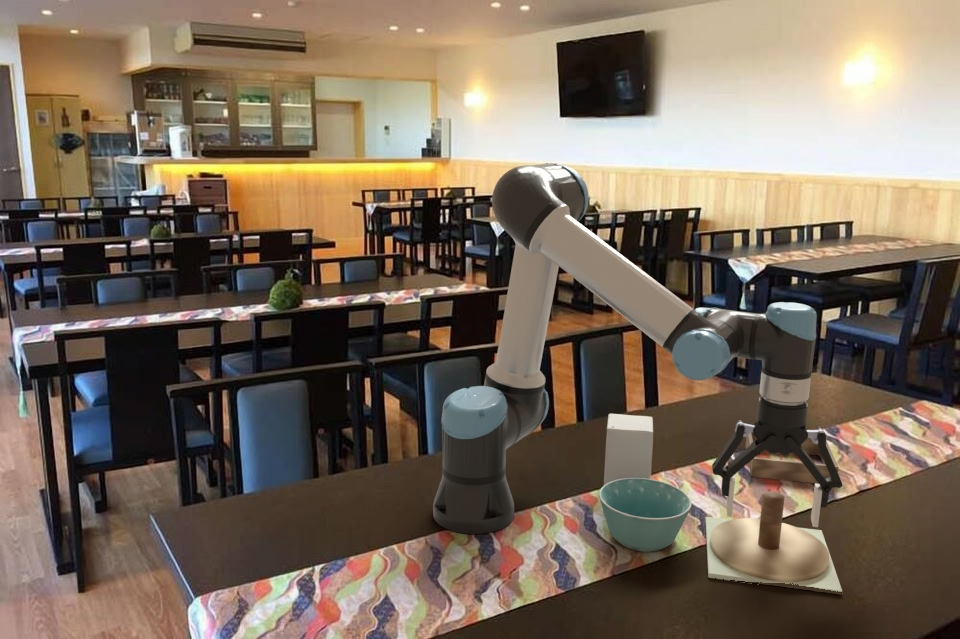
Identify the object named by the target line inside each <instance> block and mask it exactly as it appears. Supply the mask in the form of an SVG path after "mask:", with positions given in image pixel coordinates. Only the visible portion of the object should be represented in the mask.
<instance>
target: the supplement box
mask: <svg viewBox="0 0 960 639" xmlns="http://www.w3.org/2000/svg"><path fill="white" fill-rule="evenodd" d="M607 416H608V417H607V426H606V439H605V456H604V457H605V458H604V475H603V486H604V485H606V484H607V483H609V482H611V481H614V480H618V479H624V478H645V479H652V478H651V477H652V476H651V475H652V464H653V463H652V462H653V444H654V423H653V422H654V419H653V416H647V415H630V414H621V413H619V414H618V413H608V415H607Z"/></svg>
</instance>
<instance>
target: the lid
mask: <svg viewBox="0 0 960 639" xmlns="http://www.w3.org/2000/svg"><path fill="white" fill-rule="evenodd" d="M785 498H786V497H785V495H783V494H782V493H779V492H777V491H772V490H769V491H768V490H767V491H764V492H763V493H762V500H761V511H760V518H756V517H755V518H754V517H753V518H752V517H742V518H735V519H734V518H733V519H730V520H729V521H726V522H723V523H721V524H719V525H717V526H716V527H715V528H714V529H713V530H712V532H711V536H710V547H711V549H712V551H713V553H714V554H715V555H716V556H717V558H718V559H720V560H721V561H722V562H723V563H725V564H726V565H728V566H730V567H731V568H733V569H735V570H737V571H740V572H742V573H745V574H747V575H750V576H753V577H757V578H761V579H765V580H771V581H779V582H799V581H806V580H811V579H814V578H816V577H818V576H820V575H822V574H823V573H824V572H825V571H826V570H827V568H828V564H829V553H830V551H829V552H828V550H829V549H828V550H827V548H826V547H825V545H824V544H823V543H822V542H821V541H820V540H818V539H817V538H816V537H814V536H813V535H811V534H810V533H808V532H806V531H804V530H802V529H799V528H800V527H798V526H794V525H791V524H788V523H785V522H783V518H784V517H783V515H784V507H785ZM797 527H798V528H797Z"/></svg>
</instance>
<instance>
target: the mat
mask: <svg viewBox="0 0 960 639" xmlns="http://www.w3.org/2000/svg"><path fill="white" fill-rule="evenodd" d="M729 520H731V519H728V518H720V517H713V516H711V517H710V516H705V536H706V537H705V539H706V555H707V558H706V561H707V574H708V575H707V577H708V578H709V579H715V578H716V579H715V580H723V579H724V580H723V581H730V580H735V581H734V582H737V581H745V582H759V583H760V582H762V583H785V584H790V583H791V584H792V583H793V584H794V585H795V584H796V585H797V584H798V585H799V586H806V587H814V588H819V589H825V590H831V591H836V592H837V591H838V592H842V593H843V589H842V586H841V584H840V579H839V578H838V575H837V571H836V569H835V565H834V562H833V559H832V557H831V553H830V550H829V548H828V545H827V543H826V540H825V536H824V533H823V530H821V529H814V528H806V527H798V526H796V527H797V528H799V529H802V530H804V531H806V532H808V533H810V534H811V535H813V536H814V537H816V538H817V539H818V540H820V541H821V542H822V543H823V544H824V545H825V547H826V548H827V550H828V552H829V564H828V568H827V570H826V571H825V572H824V573H823V574H822V575H820V576H818V577H816V578H814V579H811V580H806V581H799V582H779V581H771V580H765V579H761V578H757V577H753V576H750V575H747V574H745V573H742V572H740V571H737V570H735V569H733V568H731V567H730V566H728V565H726V564H725V563H723V562H722V561H721V560H720V559H718V558H717V556H716V555H715V554H714V553H713V551H712V549H711V547H710V536H711V532H712V530H713V529H714V528H715V527H716V526H717V525H719V524H721V523H723V522H726V521H729ZM745 582H744V583H745ZM793 584H792V585H793Z"/></svg>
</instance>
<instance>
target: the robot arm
mask: <svg viewBox="0 0 960 639" xmlns="http://www.w3.org/2000/svg"><path fill="white" fill-rule="evenodd" d="M491 197H492V198H491V206H492V211H493V213H494V214H493V215H494V217H495V219H496V221H497V222H498V224H499V225H500V227H502V229H503V230H504V231H505V232H506V233H507V234H508V235H509V236H510V237H511V238H512V239H513V241H514V243H515V246H514V247H515V248H514V253H513V258H512V264H511V271H510V276H509V282H508V288H507V294H506V301H505V307H504V310H503V312H504V313H503V318H502V324H501V330H500V331H501V332H500V334H499V341H498V342H499V343H498V347H497V354H496V360H495V362H494V363H492V364H491V365H489V366H488V367H487V368H486V372H485V378H484V384H483V385H475V386H469V388H466V387H462V388H460V389H457V390H455V391H454V392H452V393H450V394H449V395H448V396H447V397H446V399H445V400H444V402H443V405H442V413H441V419H440V420H441V433H442V434H441V438H442V440H441V443H442V445H441V447H442V449H441V450H442V453H441V455H442V461H441V462H442V463H441V464H442V476H441V480H440V483H439V485H438V489H437V491H436V494H435V497H434V500H433V505H432V512H433V514H432V517H433V519H434V521H435V522H436V523H437V524H438V525H439V526H441V527H442V528H444V529H446V530H448V531H451V532H455V533H460V534H468V535H477V534H488V533H493V532H496V531H500V530H502V529H503V528H505V527H508V526H509V525H510V524H512V522H513V521H514V518H515V501H514V498H513V496H512V493H511V490H510V487H509V482H508V481H507V477H506V463H507V462H506V459H507V457H506V456H507V449H508V448H510V447H512V446H513V445H514V444H516V443H517V442H519V441H520V440H522V439H523V438H525V437H527V436H528V435H530V434H532V433H533V432H535V431H536V430H537V429H538V428H539V427H540V425H541V424H542V423H543V421H544V420H545V419H546V417H547V415H548V411H549V408H550V398H549V394H548V391H546V389H545V386H546V377H545V375H544V374H543V372H542V371H541V370H540V369H541V364H542V359H543V353H544V346H545V342H546V338H547V332H548V327H549V322H550V316H551V309H552V306H553V305H552V304H553V299H554V294H555V289H556V283H557V280H558V279H557V278H558V272H559V268H561V269H562V270H563V271H564V272H566V273H567V274H569V275H570V276H571V277H572V278H573V279H575V280H576V281H577V282H579V283H580V284H582V286H584V287H585V288H586V289H587V290H589V291H590V292H591V293H593V294H594V295H595V296H597V297H598V298H599V299H600V300H602V301H603V302H604V303H606V304H607V306H609V307H611V308H612V309H613V310H615V312H617V313H618V314H619V315H621V316H622V317H623V318H624V319H626V320H627V321H628V322H630V323H631V325H633V326H635V327H636V328H637V329H639V330H640V332H643V333H644V334H645V335H646V336H648V337H649V338H650V339H652V340H653V341H654V342H655V343H657V344H658V345H659V346H661V347H662V348H663V349H664V350H665V351H667V352H668V353H669V354H671V357H672V358H671V359H672V362H673V365H674V366H675V368H676V370H677V371H678V372H679V374H680V375H682V376H683V377H685V378H686V379H689V380H692V381H705V380H709V379H711V378H713V377H714V376H716V375H718V374H719V373H720V372H722V371H724V370H725V369H726V368H727V366H728V365H729V363H730V362H731V361H732V360H733V359H734V358H740V359H741V358H742V359H748V360H755V361H756V360H759V361H761V364H762V365H761V374H760V382H759V383H760V384H759V394H760V396H759V397H758V403H757V413H756V421H755V422H754V424H749V423H745V422H744V421H743V420H737V421H736V423H735V428H734V431H733V433H732V435H731V436H730V438H729V439H728V441H727V442H726V444H725V445H724V446H723V448H722V449H721V451H720V452H719V454H718V456H717V457H716V458H715V460H714V461H713V463H712V465H711V470H712V474H713V475H714V476H719V477H721V478H722V479H721V489H720V490H721V495H722V496H723V497H727V499H726V509H725V511H726V517H727V518H728V517H729V518H732V517H733V509H734V507H733V505H734V496H735V486H736V485H735V483H736V480H735V475H736V474H737V473H738V472H740V471H741V470H742V469H743V468H744V467H745V466H747V464H748V465H749V462H750V461H751V460H752V459H753V458H755V457H757V456H759V455H761V454H762V453H764V451H765V452H768V454H771V455H772V454H773V455H775V454H781V455H784V456H789V455H791V454H795V456H796V457H797V458H798V459H799V461H800V462H802V463H803V464H804V465H805V467H806V468H807V469H808V470H809V472H810V473H811V474H812V476H813V477H814V478H815V479H816V481H817V482H818V483H814V488H813V495H812V505H811V515H810V522H811V525H812V527H813V528H819V522H820V513H821V508H827V506H828V503H829V496H830V492H831V490H832V489H834V488H837V489H840V488H842V487H843V484H844V483H843V481H842V480H841V478H840V474H839V471H838V472H837V470H836V468H835V465H834V463H833V461H832V458H831V456H830V454H829V451H828V449H827V447H826V441H827V434H826V432H825V430H824V428H822V427H817V428H816V429H807V426H806V425H807V418H808V409H809V408H808V406H809V404H808V402H807V401H808V400H809V398H810V388H811V378H812V369H813V363H814V362H813V361H814V357H815V356H814V354H815V348H816V347H815V346H816V340H817V320H818V319H817V318H818V316H817V312H816V310H815V309H814V308H813V306H812V307H811V306H810V305H807V304H804V303H797V302H792V301H791V302H784V301H779V302H773V303H770V304H769V305H768V306H767V308H766V309H767V310H766V312H765V313H755V312H748V311H747V312H745V311H740V310H739V311H738V310H730V309H725V308H724V309H723V308H718V307H702V306H701V307H696V308H695V309H694V308H693V307H691V306H690V305H689V304H688V303H686V302H685V301H683V300H682V299H681V298H680V297H678V296H677V295H676V294H674V293H673V292H672V291H670V290H669V289H668V288H667V287H665V286H664V285H662V284H661V283H659V282H658V280H656V279H654V278H653V277H652V276H650V275H649V274H648V273H647V272H645V271H644V270H643V269H642V268H640V267H638V266H637V265H636V264H635V263H633V262H632V261H630V260H629V259H628V258H627V257H625V256H624V255H623V254H621V253H620V252H619V251H618V250H616V249H615V248H613V247H612V246H611V245H609V244H608V243H606V241H604V240H603V239H602V238H600V237H599V236H598V235H596V234H595V233H594V232H592V231H591V230H590V229H588V228H587V227H585V225H583V224H582V223H580V220H582V218H583V217H584V216H585V214H586V212H587V210H588V208H589V202H590V200H589V199H590V196H589V189H588V187H587V184H586V182H585V180H584V179H583V177H582V175H581V174H580V173H579V172H577V171H576V169H574V168H572V167H570V166H567V165H565V164H560V163H559V164H558V163H552V162H547V163H546V162H545V163H542V164H534V165H533V164H532V165H530V164H529V165H520V166H515V167H513V168H511V169H509V170H507V171H506V172H505V173H504V174H502V176H501V177H499V179H498V181H497V182H496V183H495V186H494V189H493V192H492V195H491ZM749 433H754V435H755V437H756V438H757V439H755V440H754V441H753V442H752V443H751V445H750V446H749V447H748V448H747V449H746V448H745V449H744V450H742V452H741V453H739V455H737V456H736V457H735V458H734V459H732V461H730V462H729V460H730V459H731V457H732V456H733V455H734V454H735V451H736V450H737V449H738V447H739V446H740V444H741V443H742V441H743V439H744V438H746V437H747V436H748V434H749ZM807 438H811V439H812V442H813V443H814V444H817V445H818V448H819V450H820V453H821V455H822V457H823V460H824V462H825V464H826V467H827V469H828V471H829V473H830V476H831V477H830V478H826V477H825V476H824V475H823V473H822V472H821V471H820V469H819V468H818V467H817V466H816V464H815V463H816V462H814V461H813V459H812V458H811V456H810V454H807V453H806V451H805V450H804V449H803V447H802V446H801V444H802V443H803V442H804V441H805V440H806V439H807ZM793 452H794V453H793ZM728 462H729V463H728Z"/></svg>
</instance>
